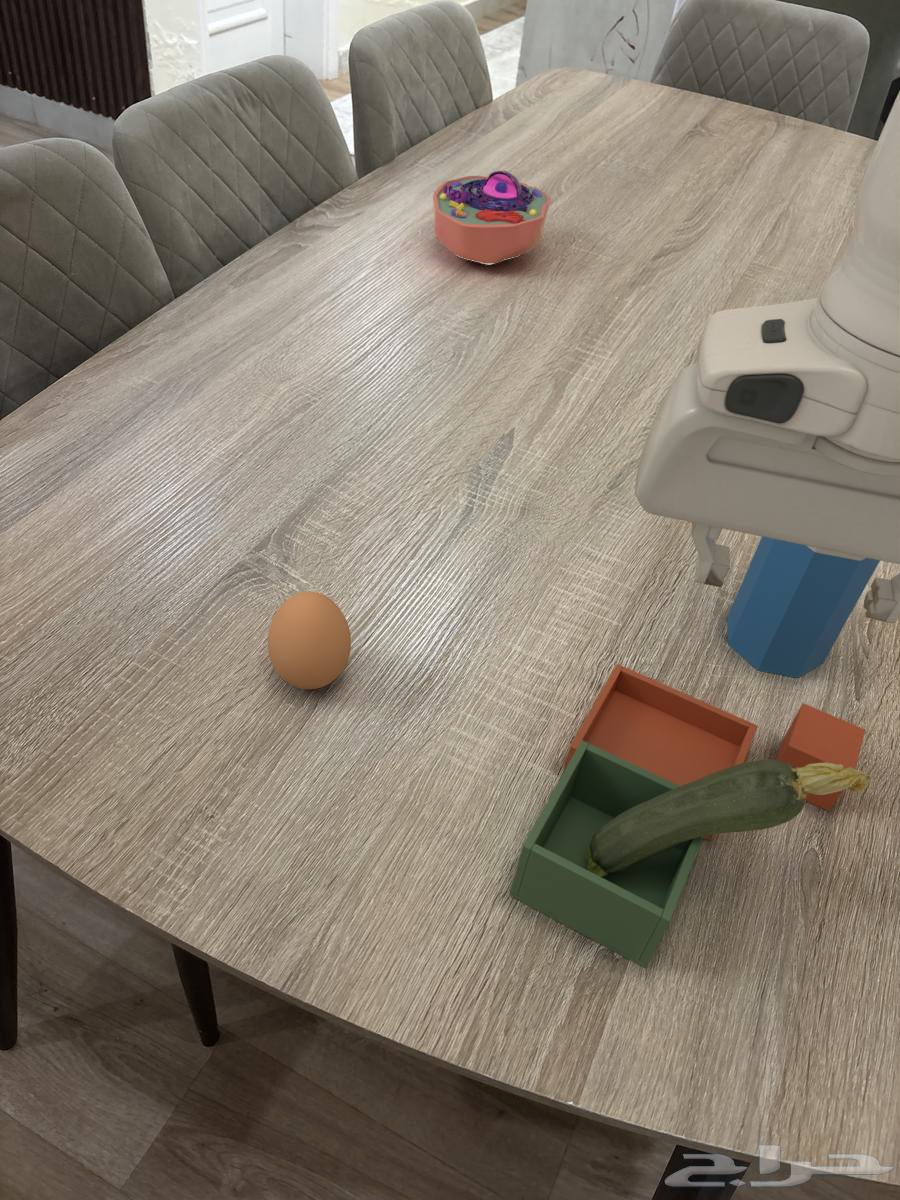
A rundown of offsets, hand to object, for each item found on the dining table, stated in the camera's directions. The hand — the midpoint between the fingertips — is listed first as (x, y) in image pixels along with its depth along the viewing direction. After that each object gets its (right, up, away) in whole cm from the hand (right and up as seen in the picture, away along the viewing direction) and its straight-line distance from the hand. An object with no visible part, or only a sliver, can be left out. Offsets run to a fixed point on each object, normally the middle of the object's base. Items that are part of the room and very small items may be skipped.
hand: (791, 595), depth 53 cm
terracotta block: (+9, -14, +23) cm, 29 cm away
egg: (-31, -7, +26) cm, 41 cm away
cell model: (-14, +51, +89) cm, 103 cm away
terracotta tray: (-3, -13, +23) cm, 27 cm away
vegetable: (-10, -18, +15) cm, 25 cm away
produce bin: (-8, -20, +15) cm, 26 cm away
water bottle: (+11, -4, +34) cm, 36 cm away
